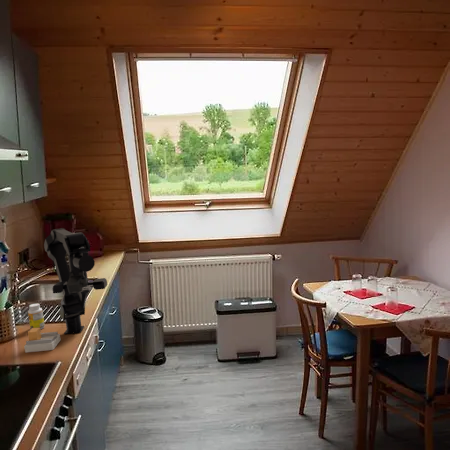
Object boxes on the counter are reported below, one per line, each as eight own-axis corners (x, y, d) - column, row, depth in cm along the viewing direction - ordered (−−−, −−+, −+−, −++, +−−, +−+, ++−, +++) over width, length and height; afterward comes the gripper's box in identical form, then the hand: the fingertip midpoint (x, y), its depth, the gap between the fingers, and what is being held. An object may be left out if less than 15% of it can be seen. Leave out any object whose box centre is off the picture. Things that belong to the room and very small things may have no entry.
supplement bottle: (30, 327, 185) (27, 304, 184) (44, 324, 188) (41, 301, 186) (30, 332, 180) (26, 308, 179) (44, 329, 182) (41, 305, 181)
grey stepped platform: (34, 342, 169) (32, 333, 168) (60, 339, 169) (59, 330, 169) (25, 352, 160) (23, 342, 159) (53, 349, 161) (51, 340, 160)
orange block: (33, 338, 166) (31, 328, 165) (41, 337, 166) (40, 327, 166) (29, 342, 162) (27, 332, 162) (37, 341, 162) (36, 331, 162)
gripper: (44, 274, 154) (50, 317, 156) (98, 270, 155) (103, 312, 157) (54, 267, 165) (60, 307, 167) (105, 263, 166) (109, 302, 168)
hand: (83, 307), depth 165 cm, fingers closed
